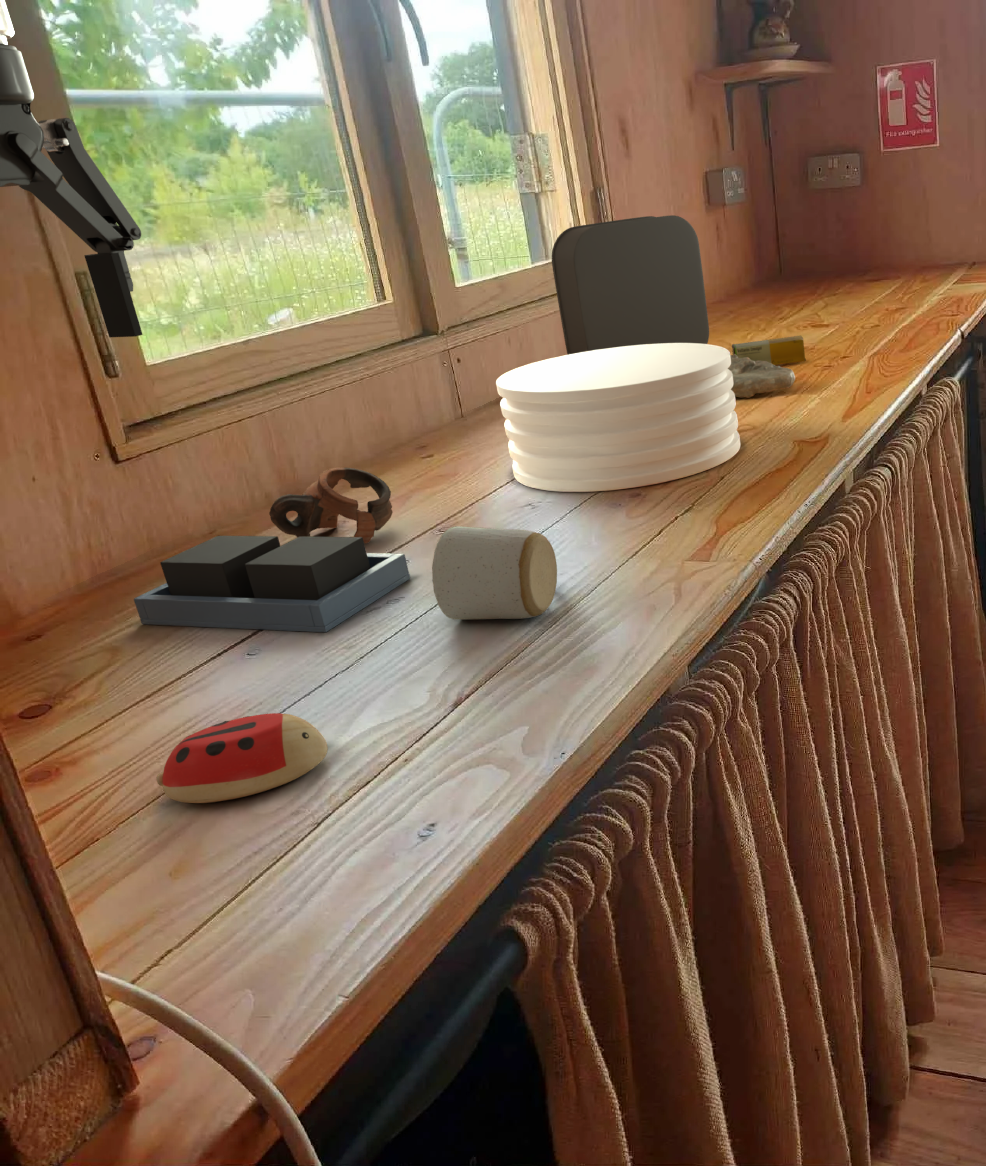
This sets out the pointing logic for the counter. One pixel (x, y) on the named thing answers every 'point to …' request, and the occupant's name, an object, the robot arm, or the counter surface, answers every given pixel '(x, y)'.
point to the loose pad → (307, 567)
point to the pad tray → (277, 603)
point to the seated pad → (216, 566)
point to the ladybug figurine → (241, 758)
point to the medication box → (772, 350)
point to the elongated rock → (758, 377)
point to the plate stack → (620, 416)
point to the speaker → (630, 284)
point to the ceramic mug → (493, 573)
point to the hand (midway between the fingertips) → (55, 353)
